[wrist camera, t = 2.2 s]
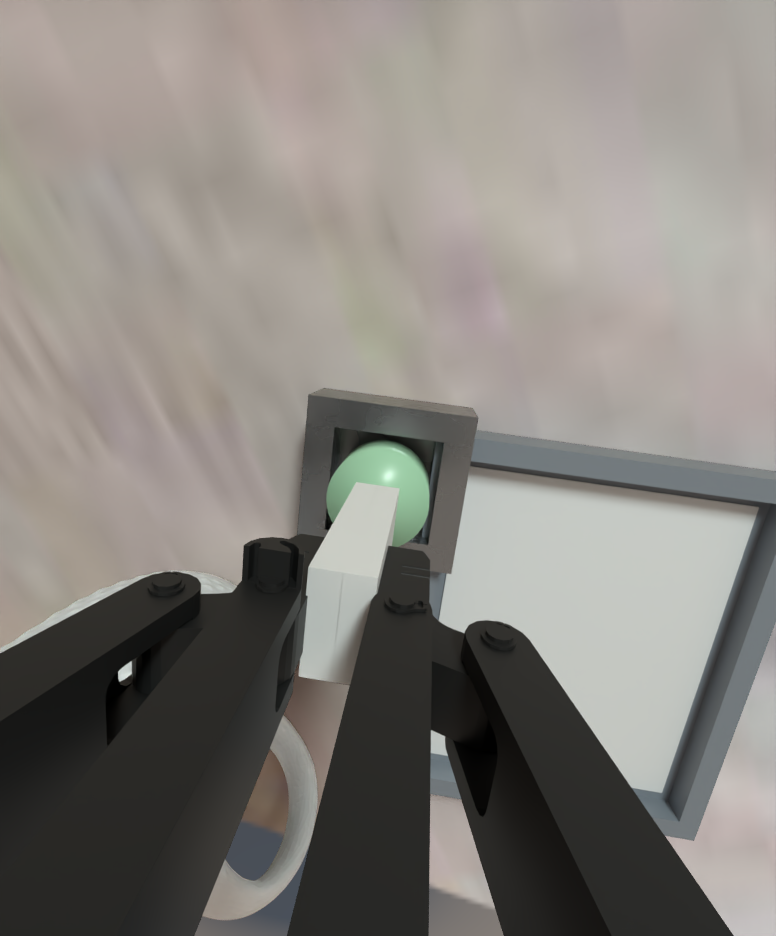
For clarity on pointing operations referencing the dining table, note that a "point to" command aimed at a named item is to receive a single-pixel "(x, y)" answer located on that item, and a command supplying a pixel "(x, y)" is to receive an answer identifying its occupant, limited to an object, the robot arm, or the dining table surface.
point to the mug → (231, 889)
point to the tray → (622, 598)
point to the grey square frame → (400, 420)
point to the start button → (385, 483)
